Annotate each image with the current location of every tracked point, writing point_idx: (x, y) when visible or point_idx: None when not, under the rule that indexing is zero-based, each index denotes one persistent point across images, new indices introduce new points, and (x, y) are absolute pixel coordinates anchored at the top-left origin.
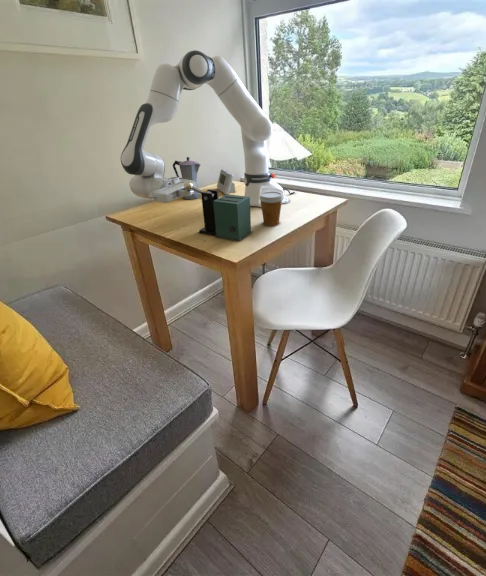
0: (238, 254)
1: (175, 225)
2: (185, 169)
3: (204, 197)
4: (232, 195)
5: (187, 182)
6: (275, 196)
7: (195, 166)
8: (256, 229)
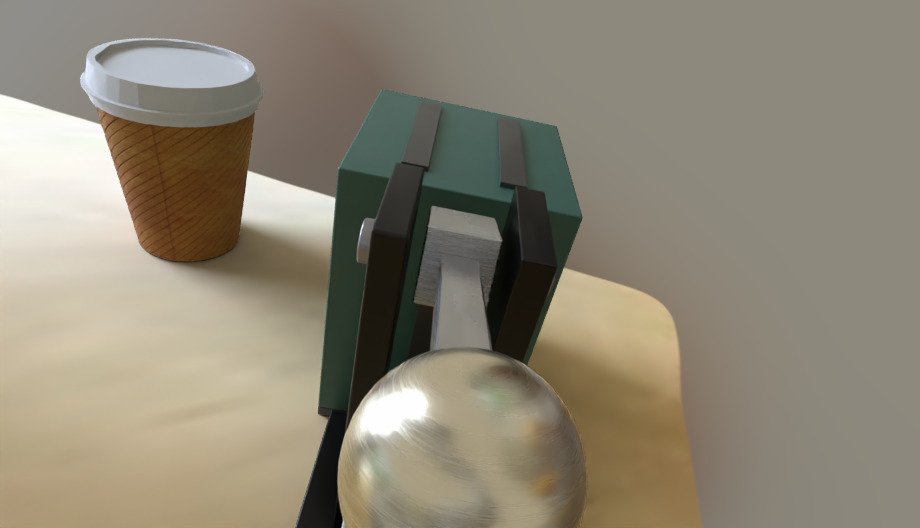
0: (620, 302)
1: None
2: None
3: (554, 277)
4: (374, 141)
5: (535, 386)
6: (206, 60)
7: None
8: (304, 281)
